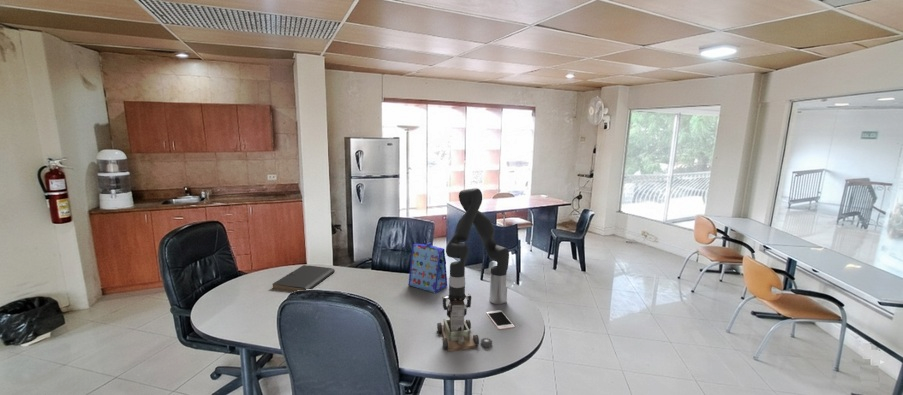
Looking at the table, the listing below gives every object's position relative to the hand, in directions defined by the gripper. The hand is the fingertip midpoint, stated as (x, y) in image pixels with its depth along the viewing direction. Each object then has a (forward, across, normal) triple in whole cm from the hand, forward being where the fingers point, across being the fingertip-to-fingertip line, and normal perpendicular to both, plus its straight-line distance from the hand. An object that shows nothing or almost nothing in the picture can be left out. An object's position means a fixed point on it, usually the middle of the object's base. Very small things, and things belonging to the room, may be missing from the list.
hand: (456, 316), depth 177 cm
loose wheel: (+10, -12, +11) cm, 19 cm away
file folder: (+11, +82, -83) cm, 118 cm away
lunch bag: (+11, +5, -59) cm, 60 cm away
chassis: (+10, 0, +2) cm, 10 cm away
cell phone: (+11, -26, -10) cm, 30 cm away
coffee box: (+8, 0, 0) cm, 8 cm away
